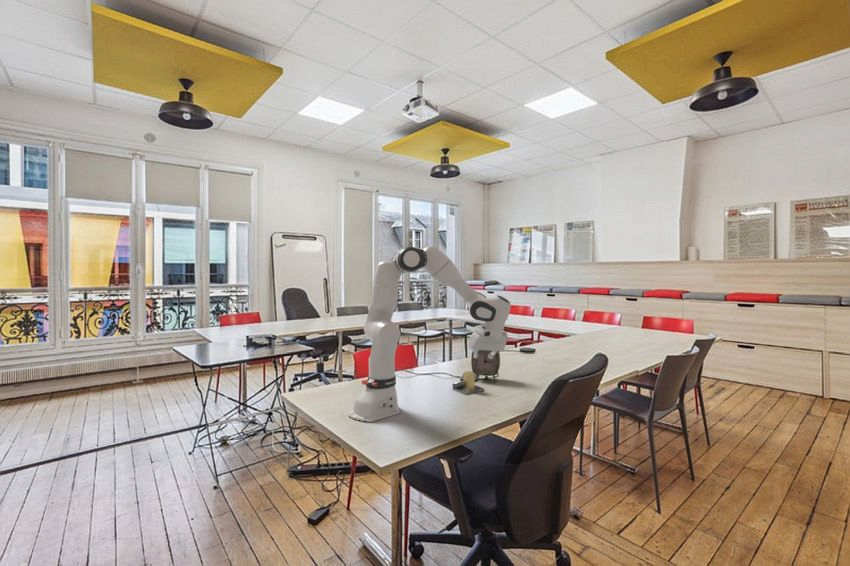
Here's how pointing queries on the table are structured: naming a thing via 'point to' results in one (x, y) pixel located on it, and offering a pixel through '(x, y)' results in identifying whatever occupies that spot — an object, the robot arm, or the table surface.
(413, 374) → the table surface
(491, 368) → the tabletop clock
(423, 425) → the table surface
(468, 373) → the tan wooden block
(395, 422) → the table surface
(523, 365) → the table surface
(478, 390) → the fixed leaf
